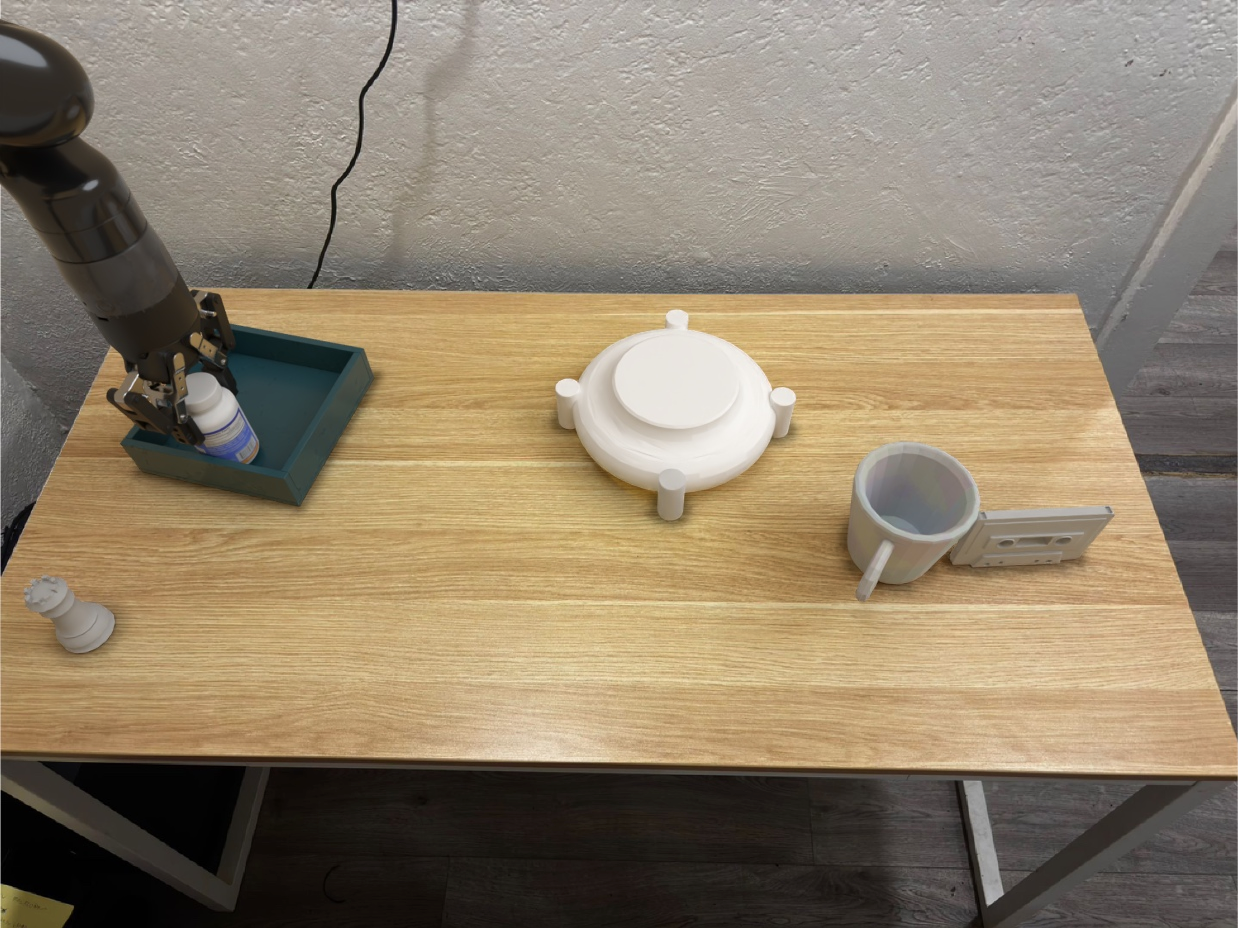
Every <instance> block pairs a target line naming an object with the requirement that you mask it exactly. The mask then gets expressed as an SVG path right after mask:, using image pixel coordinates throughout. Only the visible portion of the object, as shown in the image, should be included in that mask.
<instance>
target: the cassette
mask: <svg viewBox="0 0 1238 928" xmlns="http://www.w3.org/2000/svg"><path fill="white" fill-rule="evenodd" d="M1115 516H1116V514H1115V511H1114V509H1113V507H1112V506H1111V505H1095V506H1094V505H1093V506H1072V507H1071V506H1070V507H1049V508H1048V507H1045V508H1027V509H1025V508H1024V509H1004V510H1003V509H1002V510H981V511H980V510H979V512H978V517H977V520H976V521H975V522H974V524H973V525H972V526H971V528H970V529H969V530H968V531H967V533H965V534H964V535H963V536H962V537H961V538H960V539H959V540H958V541H957V542H956V543H955V545H954V547H953V549H952V550H951V552H950V554H949V561H950V563H951V564H952V565H953V566H959V565H960V566H961V565H962V566H963V565H970V567H971V568H985V567H986V568H989V567H1008V566H1010V567H1011V566H1030V565H1050V564H1051V565H1054V564H1055V565H1056V564H1060V563H1061V561H1066V560H1077V559H1080V558H1081V556H1082V555H1083V554H1084V553H1085V552H1086V550H1087V549H1088V548H1089V547H1090V546H1091V545H1092V544H1093V542H1094V541H1095V540H1096V539H1097V537H1099V535H1100V534H1101V533H1102V532H1103V530H1104V529H1106V527H1107V526H1108V524H1110V522H1111V521H1112V520H1114V518H1115Z"/></svg>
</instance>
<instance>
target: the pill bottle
mask: <svg viewBox="0 0 1238 928" xmlns="http://www.w3.org/2000/svg"><path fill="white" fill-rule="evenodd" d="M185 379H186V384H187V389H188V396H187V397H186V398H185V403H186V408H187V413H188V415H190V416H191V417H192V418H193V420H194V421H195V423H196V424H197V426H198V428H199V429H200V431H201V432H202V434H203V435H204V437H205V439H206V440H205V441H204V443H203V444H202V445H201V446H197V445H194V446H195V447H196V449H197V451H198V452H199V454H203V455H207V456H212V457H217V458H221V459H226V460H231V461H235V462H240V463H245V464H249V463H250V462H252V460H253V459H254V458H255V457H256V455H257V453H258V450H259V441H258V438H257V436H256V435H255V433H254V431H253V429H252V427H251V426H250V424H249V422H248V420H247V418H246V417H245V415H244V413H243V411H242V409H241V407H240V405H239V404H238V402H237V400H236V398H235V396H234V395H233V393H232V392H231V391H229V390H228V389H226V388H224V387H221V386H220V384H219V383H218V381H217V380H216V378H215V377H214V376H213V375H211V374H209V373H204V372H198V373H193V374H189V375H187V377H186V378H185Z"/></svg>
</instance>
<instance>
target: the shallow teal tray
mask: <svg viewBox="0 0 1238 928" xmlns="http://www.w3.org/2000/svg"><path fill="white" fill-rule="evenodd" d="M230 326H231V330H232V333H233V336H234V339H235V348H234V349H233V350H228V352H227V355H226V357H227V358H228V367H229V369H230V371H231V373H232V375H233V377H234V378H235V380H236V384H237V386H236V388H237V390H238V391H239V393H238V394H237V396H236V397H235V398H236V400H237V402H238V404H239V405H240V407H241V409H242V411H243V413H244V415H245V417H246V418H247V420H248V422H249V424H250V426H251V427H252V429H253V431H254V433H255V435H256V436H257V438H258V441H259V450H258V453H257V455H256V457H255V458H254V459H253V460H252V462H250V463H249V464H245V463H240V462H235V461H231V460H226V459H221V458H217V457H212V456H207V455H203V454H199V452H198V451H197V449H196V447H195V446H191V445H187V444H182V443H179V442H177V441H176V439H175V437H174V436H173V435H172V433H171V434H170V435H166V434H162V433H159V432H154V431H147V430H142V429H141V428H140V427H138V426H137V425H136V424H135V423H134V424H133V426H131V428H130V430H129V431H128V432H127V434H126V435H125V436H124V437H123V438H122V440H121V442H120V441H119V445H120V446H121V447H122V448H123V450H124V451H125V453H126V454H127V455H128V456H129V457H130V458H131V460H132V461H133V463H135V465H136V466H137V468H138V469H139V470H140V471H141V472H142V473H146V474H151V475H156V476H159V477H165V478H168V479H169V478H170V479H173V480H178V481H183V482H188V483H191V484H196V485H201V486H206V487H209V488H214V489H219V490H223V491H227V492H231V493H232V492H233V493H237V494H242V495H246V496H250V497H256V498H259V499H260V498H261V499H264V500H269V501H274V502H278V503H282V504H286V505H291V506H296V507H301V505H302V503H303V501H304V500H305V498H306V496H307V494H308V493H309V491H310V489H311V487H312V486H313V484H314V482H315V480H316V479H317V477H318V475H320V472H321V470H322V469H323V467H324V466H325V464H326V462H327V460H328V459H329V457H330V455H331V454H332V451H333V450H334V448H335V447H336V445H337V443H338V441H339V439H340V438H341V436H342V434H343V432H344V431H345V429H346V428H347V425H348V424H349V422H350V421H351V419H352V417H353V415H354V414H355V412H356V410H358V409H357V408H358V407H359V405H360V403H361V402H362V400H363V398H364V397H365V395H366V393H367V391H368V390H369V388H370V386H371V385H372V383H373V381H374V380H375V375H374V373H373V370H372V367H371V364H370V361H369V359H368V355H367V353H366V350H365V348H364V347H359V346H353V345H349V344H342V343H337V342H332V341H326V340H321V339H315V338H311V337H305V336H300V335H294V334H288V333H285V332H280V331H279V332H278V331H274V330H273V331H272V330H268V329H263V328H257V327H252V326H245V325H241V324H236V323H230ZM214 331H215V334H216V335H219V332H218V331H217V330H216V329H214ZM203 366H204V365H202V364H199V363H197V364H196V365H194V366H193V367H192V368H191V369H190V370H189V372H188V374H187V375H189V374H193V373H198V372H202V370H201V368H202V367H203ZM164 386H169V387H172V386H171V385H167V384H164ZM150 403H151V404H152V402H150ZM167 406H168V407H170V408H172V407H171V403H170V402H169V401H167Z"/></svg>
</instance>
